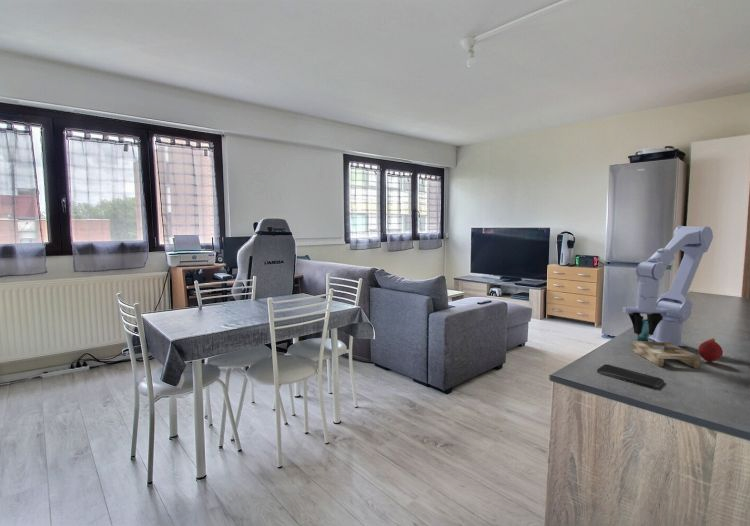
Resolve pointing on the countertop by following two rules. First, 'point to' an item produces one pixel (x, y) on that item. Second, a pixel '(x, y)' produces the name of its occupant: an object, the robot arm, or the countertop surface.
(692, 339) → the countertop surface
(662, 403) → the countertop surface
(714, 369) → the countertop surface
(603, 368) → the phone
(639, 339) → the peg
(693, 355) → the beige wooden frame
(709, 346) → the onion
